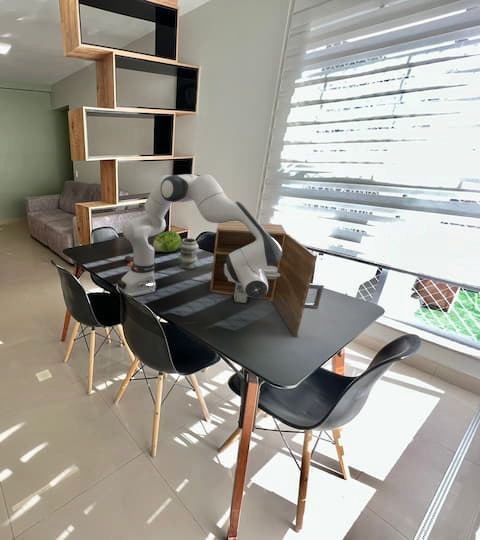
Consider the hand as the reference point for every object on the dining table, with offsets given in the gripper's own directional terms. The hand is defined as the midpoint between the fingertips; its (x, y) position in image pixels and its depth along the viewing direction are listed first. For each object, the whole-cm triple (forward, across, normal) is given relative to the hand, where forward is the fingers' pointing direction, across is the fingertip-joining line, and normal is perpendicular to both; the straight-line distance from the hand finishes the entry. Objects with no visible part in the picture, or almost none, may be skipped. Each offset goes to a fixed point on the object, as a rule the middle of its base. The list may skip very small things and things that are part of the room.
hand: (248, 265), depth 125 cm
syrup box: (+12, 0, +22) cm, 25 cm away
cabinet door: (+1, -19, +23) cm, 30 cm away
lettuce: (+78, +49, +16) cm, 94 cm away
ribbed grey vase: (+51, +30, +19) cm, 62 cm away
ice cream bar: (+48, +68, +18) cm, 85 cm away
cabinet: (+26, 0, +21) cm, 33 cm away
